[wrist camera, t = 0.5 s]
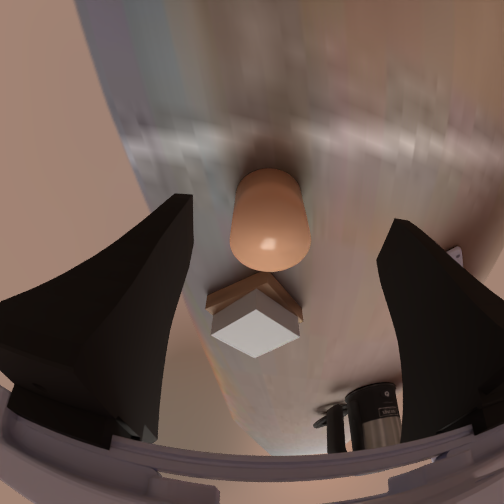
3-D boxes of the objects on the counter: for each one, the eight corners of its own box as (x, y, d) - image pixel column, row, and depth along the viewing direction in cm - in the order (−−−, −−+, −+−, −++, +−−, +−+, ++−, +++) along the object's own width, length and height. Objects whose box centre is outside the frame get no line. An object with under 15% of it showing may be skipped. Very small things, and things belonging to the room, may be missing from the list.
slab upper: (298, 317, 27) (299, 337, 25) (254, 339, 29) (254, 358, 28) (256, 288, 24) (256, 309, 23) (213, 315, 27) (210, 335, 25)
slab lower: (301, 303, 29) (303, 321, 27) (246, 324, 32) (246, 341, 30) (266, 263, 26) (267, 282, 24) (208, 290, 28) (205, 309, 26)
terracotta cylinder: (312, 206, 21) (324, 252, 17) (258, 233, 23) (258, 281, 19) (279, 156, 19) (285, 193, 15) (222, 189, 20) (213, 233, 17)
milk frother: (403, 378, 41) (419, 459, 30) (375, 409, 52) (384, 473, 40) (322, 388, 42) (329, 477, 31) (309, 417, 52) (312, 484, 41)
